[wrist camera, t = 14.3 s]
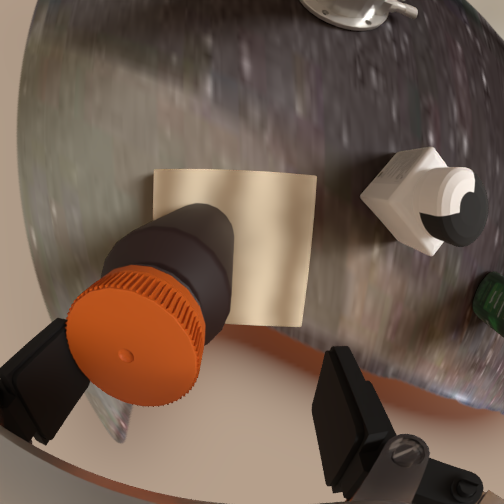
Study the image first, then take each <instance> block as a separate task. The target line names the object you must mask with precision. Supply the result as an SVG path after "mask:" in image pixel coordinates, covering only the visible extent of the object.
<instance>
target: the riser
mask: <svg viewBox="0 0 504 504" xmlns="http://www.w3.org/2000/svg"><path fill="white" fill-rule="evenodd" d="M316 182H317V176H313V175H302V174H290V173H278V172H263V171H244V170H217V169H154V187H153V221H154V220H156V219H158V218H160V217H162V216H164V215H167V214H169V213H171V212H173V211H175V210H177V209H180V208H182V207H184V206H186V205H190V204H194V203H203V204H209V205H211V206H214V207H216V208H218V209H219V210H220V211H222V212H223V213H224V214H225V215H226V216H227V218H228V219H229V221H230V223H231V224H232V227H233V232H234V255H233V277H232V296H231V308H230V313H229V315H228V317H227V320H226V322H225V323H227V324H243V325H262V326H291V327H301V324H302V318H303V310H304V303H305V295H306V287H307V279H308V271H309V262H310V252H311V243H312V232H313V221H314V209H315V196H316Z"/></svg>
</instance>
